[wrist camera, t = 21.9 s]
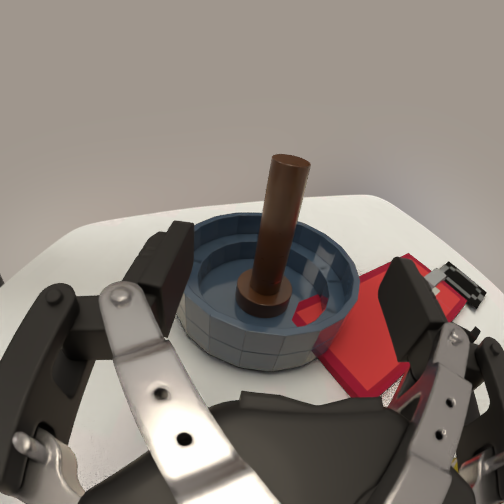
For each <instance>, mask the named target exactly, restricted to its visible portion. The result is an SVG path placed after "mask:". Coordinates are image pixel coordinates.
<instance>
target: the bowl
mask: <svg viewBox="0 0 504 504" xmlns="http://www.w3.org/2000/svg"><path fill="white" fill-rule="evenodd" d="M261 218H262V213H232V214H226V215H220V216H216V217H212V218H210V219H208V220H205V221H203V222H200V223H198V224H196V225H195V226H194V262H193V267H192V271H191V274H190V277H189V280H188V282H187V285H186V288H185V290H184V293H183V296H182V299H181V301H180V304H179V307H178V310H177V312H176V314H177V316H178V318H179V319H180V321H181V323H182V325H183V327H184V329H185V331H186V333H187V335H188V336H190V337H191V338H192V339H193V340H194V341H195V342H196V343H197V344H198V345H199V346H201V347H202V348H203V349H204V350H205V351H206V352H207V353H209V354H210V355H213V356H215V357H217V358H219V359H221V360H224V361H226V362H228V363H230V364H233V365H235V366H237V367H241V368H248V369H256V370H264V371H277V370H283V369H288V368H294V367H299V366H303V365H305V364H307V363H308V362H310V361H312V360H314V359H316V358H317V357H319V356H321V355H322V354H324V353H325V352H326V351H327V350H328V349H329V347H330V346H331V345H332V344H333V342H334V341H335V340H336V338H337V337H338V336H339V334H340V332H341V330H342V329H343V327H344V325H345V323H346V321H347V319H348V318H349V316H350V314H351V312H352V310H353V308H354V306H355V304H356V303H357V300H358V295H359V287H360V279H359V276H358V273H357V270H356V267H355V264H354V262H353V261H352V259H351V258H350V257H349V256H348V254H347V253H346V252H345V250H344V249H343V248H342V247H341V246H340V245H339V244H337V243H336V242H335V241H334V240H332V239H331V238H330V237H328V236H327V235H326V234H324V233H322V232H320V231H318V230H316V229H315V228H313V227H311V226H309V225H307V224H305V223H302V222H298V221H297V225H296V229H295V233H294V237H293V241H292V245H291V249H290V253H289V256H288V260H287V264H286V268H285V272H284V276H285V277H286V278H287V279H288V280H289V281H290V283H291V286H292V295H291V298H290V301H289V304H288V307H287V309H286V310H285V311H284V312H283V313H282V314H280V315H279V316H276V317H272V318H259V317H255V316H252V315H250V314H248V313H246V312H245V311H243V310H242V309H241V308H240V307H239V305H238V303H237V301H236V297H235V295H236V287H237V281H238V278H239V276H240V275H241V274H242V273H243V272H245V271H247V270H249V269H252V268H253V263H254V258H255V252H256V246H257V241H258V235H259V229H260V223H261ZM317 294H318V295H319V297H320V300H321V307H322V313H321V315H320V316H319V317H318V318H317V319H316V320H315V321H313V322H311V323H309V324H307V325H305V326H300V327H297V326H296V325H295V324H294V323H293V321H292V318H293V315H294V313H295V310H296V308H297V305H298V303H299V302H300V301H303V300H305V299H308V298H310V297H312V296H315V295H317Z"/></svg>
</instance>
